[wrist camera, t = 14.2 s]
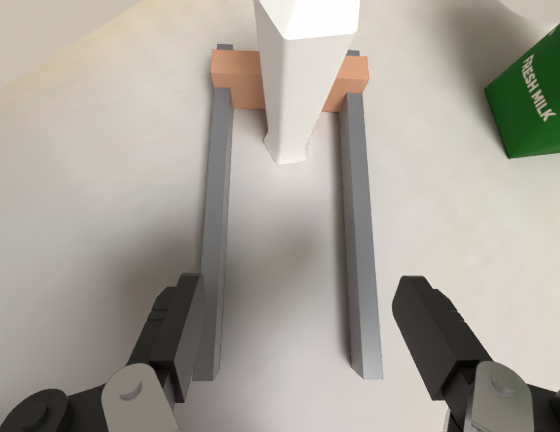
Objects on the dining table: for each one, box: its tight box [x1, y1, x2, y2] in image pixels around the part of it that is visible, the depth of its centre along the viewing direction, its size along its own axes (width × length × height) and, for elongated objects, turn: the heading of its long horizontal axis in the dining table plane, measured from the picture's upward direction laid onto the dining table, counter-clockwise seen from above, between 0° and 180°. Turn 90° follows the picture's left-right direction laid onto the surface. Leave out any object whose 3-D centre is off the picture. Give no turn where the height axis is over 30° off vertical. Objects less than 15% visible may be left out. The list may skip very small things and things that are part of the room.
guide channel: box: [192, 44, 383, 381], centre depth 20 cm, size 11×24×4 cm, turn 0°
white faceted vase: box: [254, 0, 360, 165], centre depth 16 cm, size 5×4×15 cm
